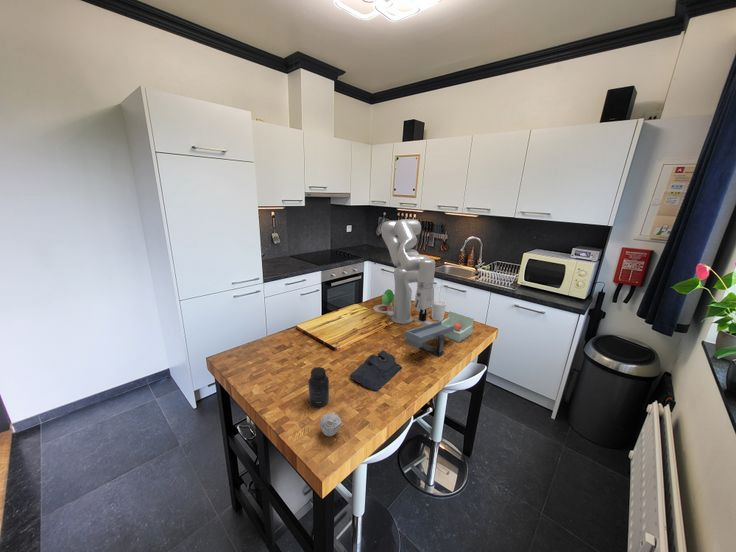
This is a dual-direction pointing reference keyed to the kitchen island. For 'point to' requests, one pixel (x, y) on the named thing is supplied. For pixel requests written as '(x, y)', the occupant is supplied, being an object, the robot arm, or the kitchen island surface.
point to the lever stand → (433, 350)
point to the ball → (457, 326)
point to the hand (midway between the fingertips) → (422, 320)
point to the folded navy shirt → (376, 371)
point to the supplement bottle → (318, 387)
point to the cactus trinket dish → (386, 301)
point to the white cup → (438, 310)
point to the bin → (465, 324)
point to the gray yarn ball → (330, 424)
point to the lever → (426, 332)
